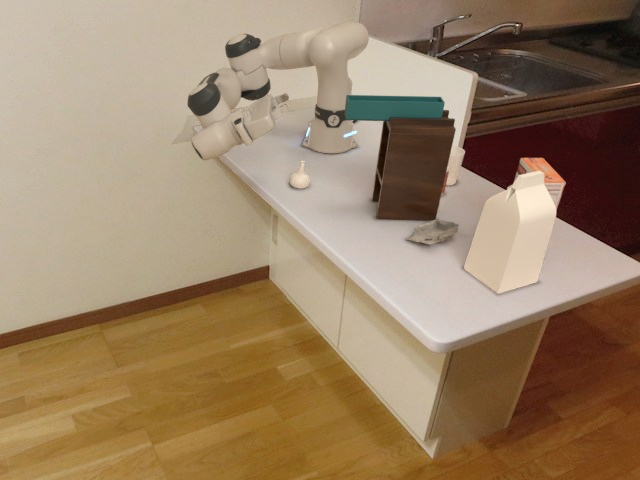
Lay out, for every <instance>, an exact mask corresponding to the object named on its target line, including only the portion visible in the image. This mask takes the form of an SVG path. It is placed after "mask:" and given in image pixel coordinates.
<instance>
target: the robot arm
mask: <svg viewBox="0 0 640 480" xmlns="http://www.w3.org/2000/svg"><path fill="white" fill-rule="evenodd" d="M369 36H370V35H369V32H368V28H367V27H366V26H365V25H364V24H363V23H361V22H357V21H344V22H340V23H335V24H331V25H326V26H322V27H317V28H313V29H312V28H311V29H308V30H302V31H295V32H291V33H290V32H289V33H285V34H281V35H277V36H273V37H272V38H270V39H267V40H266V41H264V42H263V43H262V40H261V39H260V38H259V37H255V36H254V35H252V34H249V33H240V34H237V35H234V36H233V37H232V38H230V39H229V40H228V41H227V42H226V44H225V46H224V50H225V55H226V56H225V57H226V58H227V59H228V63H229V66H230V67H221V68H219V69H217V70H216V71H215V72H212V73H209V74H208V75H207V76H205V77H204V78H202V80H201V81H200V82H199V83H198V85H196V87H194V88H193V89H192V91H191V92H190V93H188V96H187V103H186V105H187V108H188V109H189V110H190V111H191V113H192V114H193V115H194V116H195V118H196V119H197V121H198V122H199V123H200V125H201V126H202V130H200V131H199V132H198V133H195V135H193V136H192V137H191V140H190V142H191V145H192V147H193V149H194V151H195V153H196V154H197V156H198V157H199V158H200V159H201V160H202V161H209V160H213V159H216V158H218V157H220V156H222V155H225V154H226V153H228V152H230V151H231V150H232V149H233V148H235V147H237V146H241V145H245V146H250V145H251V144H253V143H254V141H255V140H258V139H260V138H261V137H263V136H264V135H266V134H267V133H269V132H270V131H272V129H274V128H275V122H276V120H278V119H280V118H281V117H282V116H283V115H284V114H286V113H288V112H289V106H288V104H287V103H286V102H287V101H289V99H290V97H289V95H288V93H287V92H284V93H282V94H280V95H279V94H278V95H275V96H274V97H273V95H272V93H269V92H270V91H271V89H272V87H271V80H270V78H269V76H268V70H267V69H270V70H279V71H283V70H295V69H302V68H311V67H315V70H316V75H317V97H316V98H317V99H316V103H315V107H314V117H313V119H311V121H307V131H306V134H305V137H304V139H303V141H302V144H301V145H302V146H303V147H305V148H309V149H311V150H313V151H315V152H318V153H324V154H341V153H346V152H347V151H349V150H351V149H355V148H357V147H358V143H357V142H356V140H355V139H354V135H355V134H357V133H358V131H357V130H354V128H355V127H354V126H355V123H356V122H358V120H346V119H345V114H344V113H345V104H346V95H352V91H353V81H352V79H351V77H350V76H349V73H348V61H349V60H353V59H355V58H357V57H358V56H359V55H360V54H362V53H363V52H364V50H365V49H366V48H367V46H368V44H369V40H370V39H369V38H370V37H369ZM241 99H244V100H247V101H250V102H251V101H253V102H252V103H251V104H250V105H249V106H248V108H247V109H245V108H244V107H240V108H239V109H237V110H235V111H233V110H234V109H235V108H236V107H238V105H239V104H240V102H241ZM282 103H284V104H282ZM279 104H282V105H280V106H279ZM277 106H279V107H278V108H277Z"/></svg>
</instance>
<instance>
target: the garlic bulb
mask: <svg viewBox="0 0 640 480" xmlns="http://www.w3.org/2000/svg"><path fill="white" fill-rule="evenodd" d="M305 162H306V160H301V161H300V164H299V167H298V169H297V171H295V172H293V173H292V174H291V175H290V177H289V184H290V186H291V187H293V188H295V189H300V190H301V189H306V188H309V186H310V185H311V179H310V176H309V175H308V173H306V172H305Z"/></svg>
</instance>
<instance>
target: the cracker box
mask: <svg viewBox="0 0 640 480" xmlns="http://www.w3.org/2000/svg"><path fill="white" fill-rule="evenodd" d="M535 171H541V172H543V173H544V185H545V187H546V188H547V190H548V192H549V194H550V196H551V198H552V200H553V202H554V204H555V207H556V211H557V209H558V207H559V204H560V201H561V198H562V195H563V192H564V190H565V186H566V184H567V182H566V181H565V180H564V178H563V177H562V176H561V175H560V174H559V173H558V172H557V171H556V170H555V169H554V168H553V167H552V166H551V164H549V163H548V162H547V161H546V160H545V158H544V157H520V159H519V163H518V166H517V170H516V173H515V177H514V180H513V183H514V182H515V180H516V179H517V177H518V176H519V175H522V174H527V173H531V172H535Z"/></svg>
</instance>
